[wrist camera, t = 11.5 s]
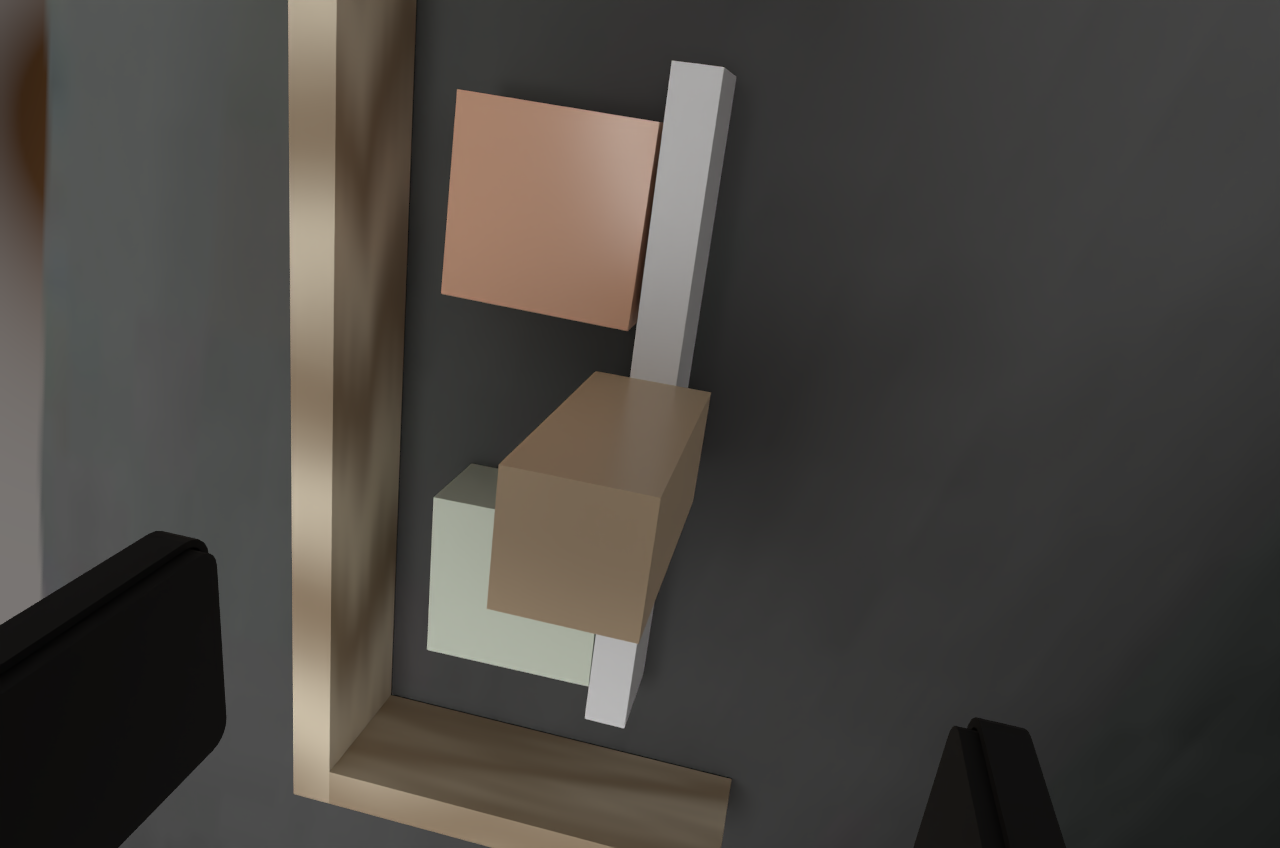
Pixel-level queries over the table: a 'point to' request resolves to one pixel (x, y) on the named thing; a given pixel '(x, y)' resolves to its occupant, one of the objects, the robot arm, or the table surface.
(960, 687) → the table surface
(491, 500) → the pale green square block
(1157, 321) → the table surface
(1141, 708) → the table surface
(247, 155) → the table surface
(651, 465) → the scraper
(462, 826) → the box
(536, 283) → the terracotta tile
